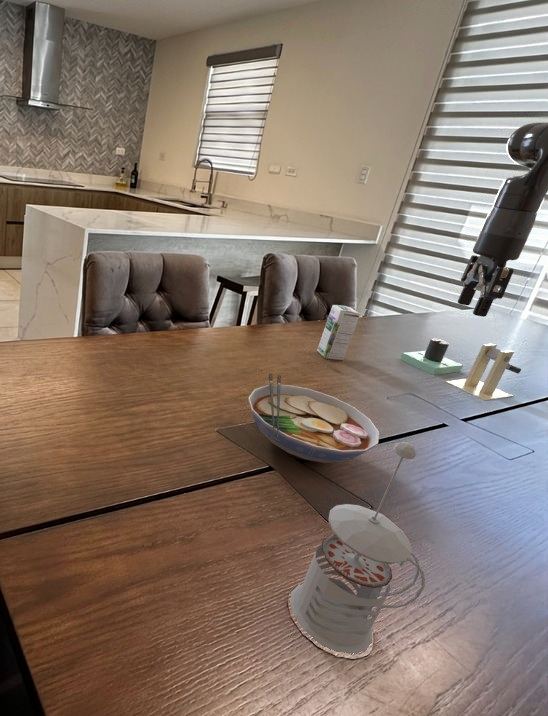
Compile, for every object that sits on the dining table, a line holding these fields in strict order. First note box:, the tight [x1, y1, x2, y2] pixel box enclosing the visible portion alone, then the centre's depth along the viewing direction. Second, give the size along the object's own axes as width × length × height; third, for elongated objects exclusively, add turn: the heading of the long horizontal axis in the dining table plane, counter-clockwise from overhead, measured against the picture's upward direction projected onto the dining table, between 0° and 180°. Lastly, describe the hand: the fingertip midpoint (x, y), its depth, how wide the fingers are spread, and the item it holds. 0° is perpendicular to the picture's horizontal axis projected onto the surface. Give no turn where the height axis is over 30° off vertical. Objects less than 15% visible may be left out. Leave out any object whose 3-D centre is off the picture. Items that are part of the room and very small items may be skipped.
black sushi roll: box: [424, 337, 450, 362], centre depth 134 cm, size 4×4×6 cm
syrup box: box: [316, 304, 361, 361], centre depth 133 cm, size 6×6×14 cm
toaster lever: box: [486, 347, 522, 375], centre depth 122 cm, size 12×5×2 cm, turn 113°
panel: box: [400, 350, 464, 376], centre depth 135 cm, size 12×10×3 cm
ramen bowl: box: [248, 372, 380, 464], centre depth 88 cm, size 25×23×8 cm
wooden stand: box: [444, 343, 515, 402], centre depth 121 cm, size 12×10×13 cm
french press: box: [290, 441, 426, 655], centre depth 51 cm, size 10×12×25 cm
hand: (470, 309), depth 100 cm, fingers open, 8 cm apart
